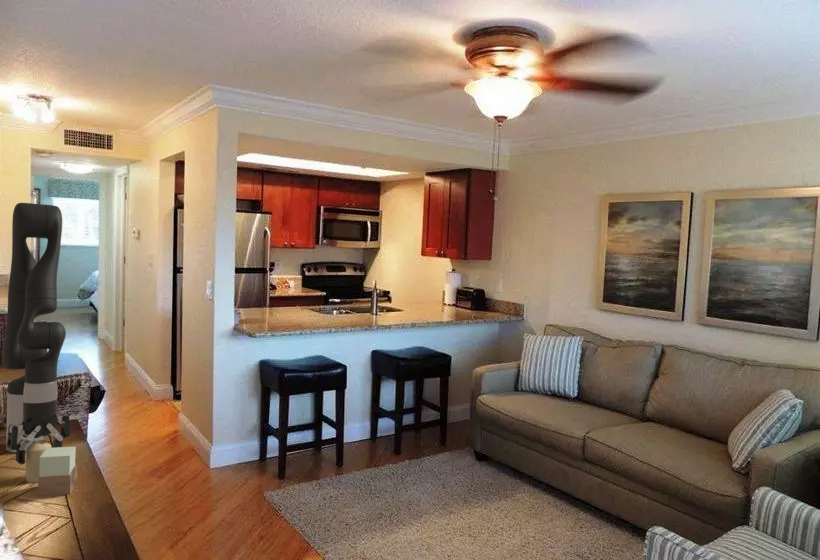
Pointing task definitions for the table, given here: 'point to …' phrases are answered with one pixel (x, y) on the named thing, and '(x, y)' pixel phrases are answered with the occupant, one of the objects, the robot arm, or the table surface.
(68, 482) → the base block
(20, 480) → the table surface
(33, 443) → the candle
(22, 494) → the table surface
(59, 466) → the top block
